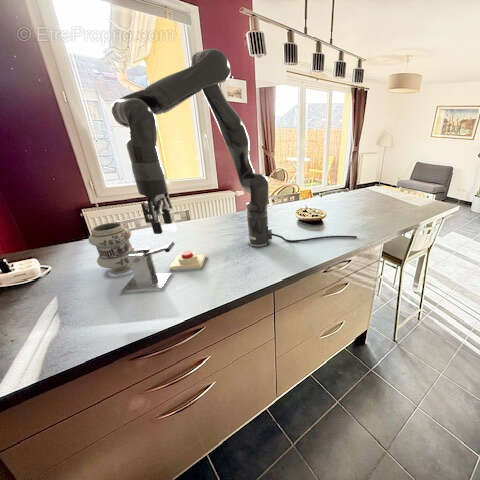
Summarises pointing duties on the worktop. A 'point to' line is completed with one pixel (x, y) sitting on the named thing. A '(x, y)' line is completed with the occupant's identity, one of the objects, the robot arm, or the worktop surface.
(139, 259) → the bracket
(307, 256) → the worktop surface
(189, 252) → the button
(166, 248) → the lever
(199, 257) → the button block
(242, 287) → the worktop surface
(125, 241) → the apothecary jar
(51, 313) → the worktop surface
